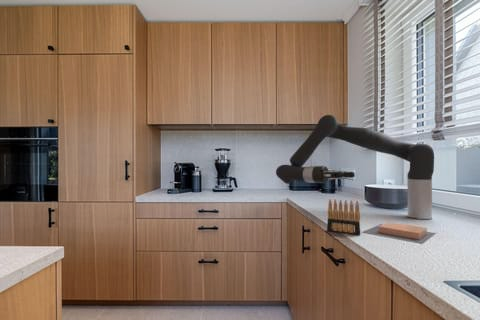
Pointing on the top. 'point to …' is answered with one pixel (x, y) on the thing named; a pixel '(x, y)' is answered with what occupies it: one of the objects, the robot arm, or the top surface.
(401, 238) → the mat
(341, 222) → the ammunition clip
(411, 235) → the tile
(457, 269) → the top surface
